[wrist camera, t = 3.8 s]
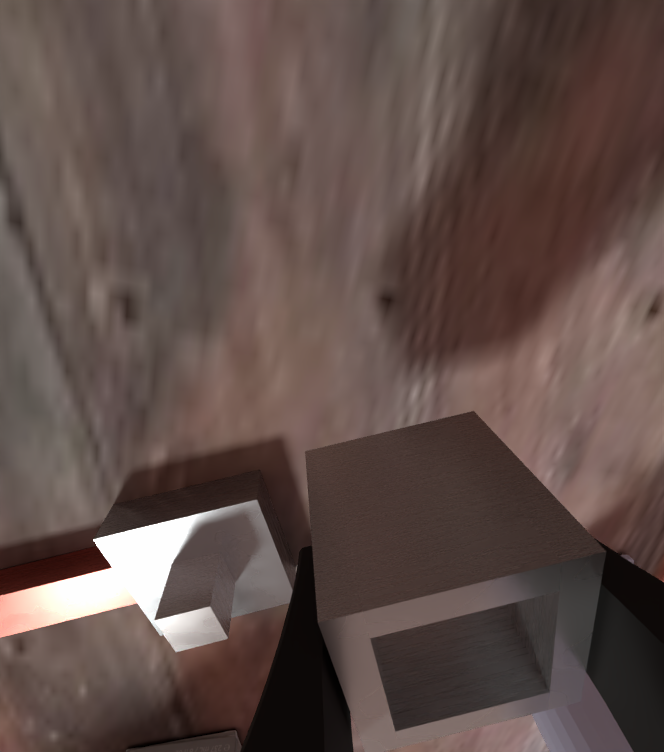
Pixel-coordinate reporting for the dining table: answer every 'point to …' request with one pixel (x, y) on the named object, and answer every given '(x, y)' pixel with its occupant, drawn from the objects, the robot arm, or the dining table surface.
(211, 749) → the skincare box
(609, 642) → the robot arm
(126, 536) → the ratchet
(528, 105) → the dining table surface
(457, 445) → the socket
